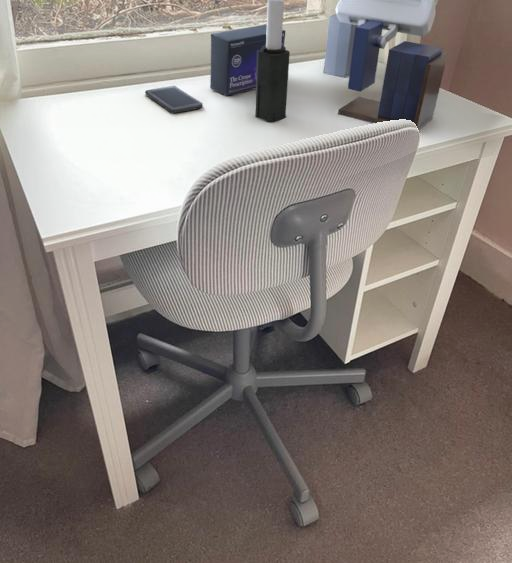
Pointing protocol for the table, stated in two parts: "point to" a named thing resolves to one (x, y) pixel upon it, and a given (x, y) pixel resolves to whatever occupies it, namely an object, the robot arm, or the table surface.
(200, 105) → the cell phone
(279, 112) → the candle
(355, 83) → the navy book
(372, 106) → the book rack
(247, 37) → the box
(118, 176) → the table surface
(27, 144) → the table surface
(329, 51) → the grey upright block
